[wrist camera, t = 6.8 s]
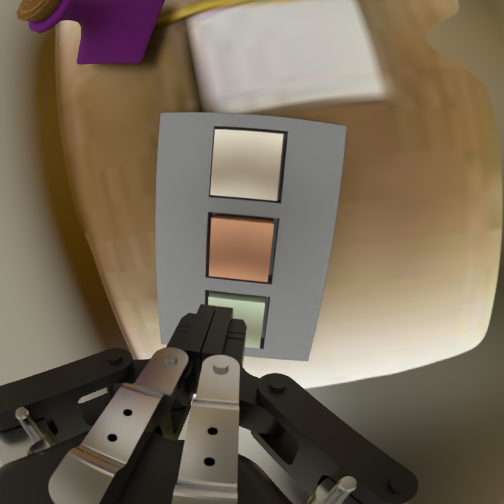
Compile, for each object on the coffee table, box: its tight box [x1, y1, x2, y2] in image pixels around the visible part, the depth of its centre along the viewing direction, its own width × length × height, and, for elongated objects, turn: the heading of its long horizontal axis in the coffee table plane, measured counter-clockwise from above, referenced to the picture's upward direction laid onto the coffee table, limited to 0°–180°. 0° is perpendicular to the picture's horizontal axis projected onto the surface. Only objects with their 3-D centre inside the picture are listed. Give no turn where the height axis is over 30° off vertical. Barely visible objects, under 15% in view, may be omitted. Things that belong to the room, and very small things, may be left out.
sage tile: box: [208, 291, 265, 349], centre depth 27 cm, size 5×5×2 cm
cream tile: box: [210, 129, 283, 201], centre depth 22 cm, size 5×5×2 cm
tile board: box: [155, 112, 347, 361], centre depth 26 cm, size 22×15×3 cm
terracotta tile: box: [209, 214, 274, 282], centre depth 25 cm, size 5×5×2 cm
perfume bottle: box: [17, 0, 165, 64], centre depth 13 cm, size 8×8×18 cm
